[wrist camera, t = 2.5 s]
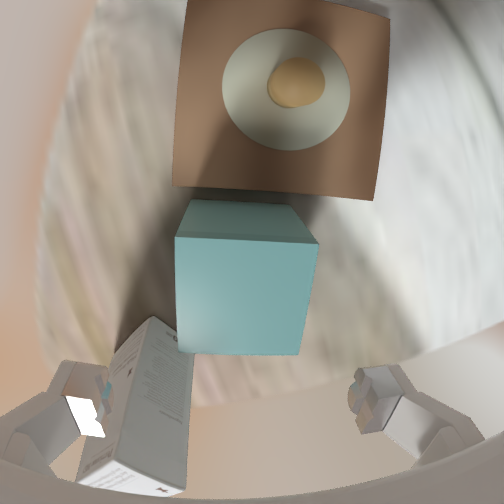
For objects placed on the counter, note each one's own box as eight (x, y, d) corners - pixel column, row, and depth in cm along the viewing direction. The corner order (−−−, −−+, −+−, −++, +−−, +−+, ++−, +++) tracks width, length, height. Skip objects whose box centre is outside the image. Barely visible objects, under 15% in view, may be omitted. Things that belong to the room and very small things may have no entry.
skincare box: (151, 311, 22) (108, 456, 11) (199, 345, 23) (190, 491, 12) (110, 356, 23) (66, 483, 12) (154, 385, 25) (133, 512, 14)
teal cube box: (289, 204, 20) (319, 244, 14) (278, 290, 22) (298, 355, 16) (191, 199, 19) (174, 237, 13) (189, 287, 21) (178, 352, 15)
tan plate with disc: (381, 23, 15) (414, 6, 12) (365, 196, 20) (395, 214, 16) (191, -6, 14) (183, -35, 10) (175, 182, 19) (162, 197, 15)
